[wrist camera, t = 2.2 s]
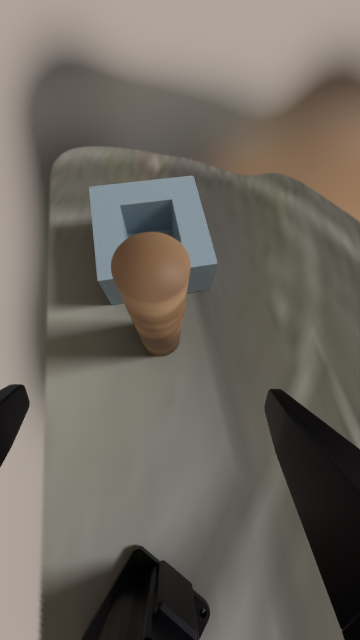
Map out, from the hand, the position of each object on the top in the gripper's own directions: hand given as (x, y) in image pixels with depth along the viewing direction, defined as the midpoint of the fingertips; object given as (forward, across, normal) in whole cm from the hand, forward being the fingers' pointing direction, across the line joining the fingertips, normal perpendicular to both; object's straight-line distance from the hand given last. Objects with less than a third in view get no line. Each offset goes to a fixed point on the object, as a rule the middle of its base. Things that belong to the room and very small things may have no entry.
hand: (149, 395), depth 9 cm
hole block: (+20, +1, -1) cm, 20 cm away
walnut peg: (+13, 0, +5) cm, 14 cm away
